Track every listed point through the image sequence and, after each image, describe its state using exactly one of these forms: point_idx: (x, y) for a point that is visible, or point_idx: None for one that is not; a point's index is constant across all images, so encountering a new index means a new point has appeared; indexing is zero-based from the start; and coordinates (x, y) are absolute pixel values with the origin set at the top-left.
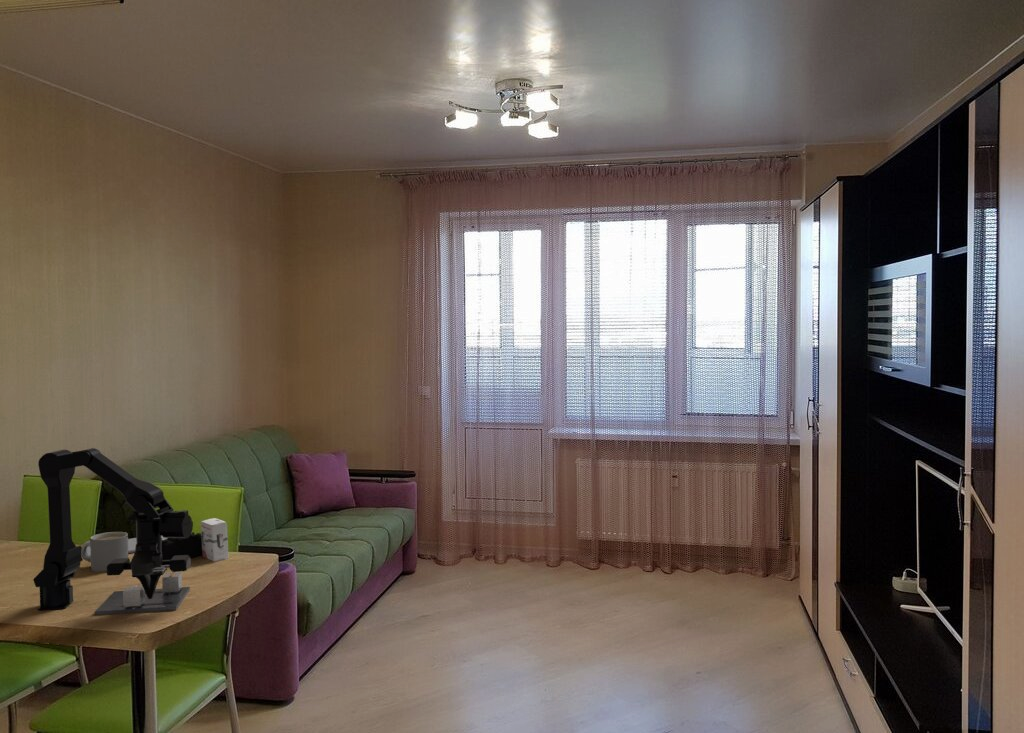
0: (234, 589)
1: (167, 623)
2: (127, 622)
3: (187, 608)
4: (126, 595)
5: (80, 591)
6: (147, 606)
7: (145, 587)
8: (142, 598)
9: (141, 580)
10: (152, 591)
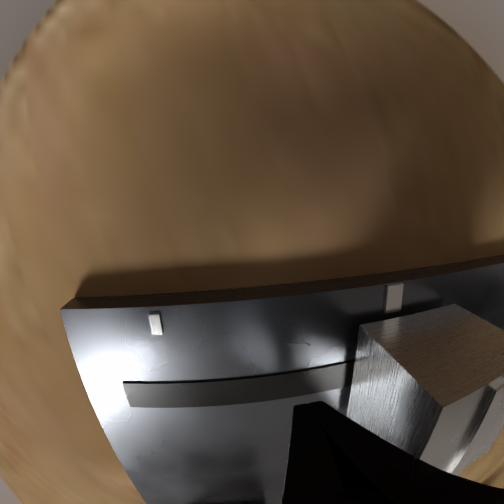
0: (18, 484)
1: (69, 28)
2: (359, 74)
3: (27, 322)
4: (497, 341)
5: (493, 452)
6: (304, 336)
7: (394, 465)
8: (369, 399)
9: (486, 501)
10: (297, 452)
